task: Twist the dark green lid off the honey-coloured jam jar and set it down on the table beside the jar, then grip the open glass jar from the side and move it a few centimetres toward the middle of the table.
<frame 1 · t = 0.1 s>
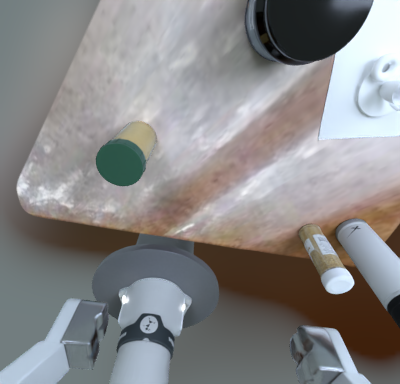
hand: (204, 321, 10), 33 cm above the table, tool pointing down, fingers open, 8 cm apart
supplement container: (282, 16, 32), on the table
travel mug: (349, 229, 50), on the table
jar lid: (120, 164, 31), point 11 cm above the table, screwed on, not yet turned
jam jar: (139, 138, 41), on the table
sprinkles bottle: (308, 230, 51), on the table
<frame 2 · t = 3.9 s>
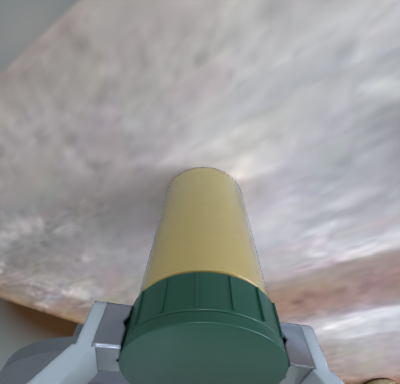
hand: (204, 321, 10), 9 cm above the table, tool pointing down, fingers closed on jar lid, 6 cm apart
jar lid: (203, 359, 9), point 11 cm above the table, screwed on, not yet turned, touching gripper
jam jar: (203, 201, 18), on the table
sprinkles bottle: (377, 383, 33), on the table
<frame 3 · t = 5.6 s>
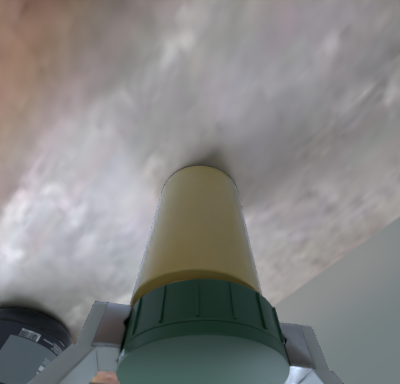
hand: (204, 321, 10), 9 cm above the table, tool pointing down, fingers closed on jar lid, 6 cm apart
supplement container: (29, 328, 28), on the table
jar lid: (202, 365, 9), point 11 cm above the table, off its thread, touching gripper
jam jar: (199, 200, 18), on the table
when the fingers open (0 cm above the table, at t = 11.8 s): jar lid stays where it is, point 1 cm above the table.
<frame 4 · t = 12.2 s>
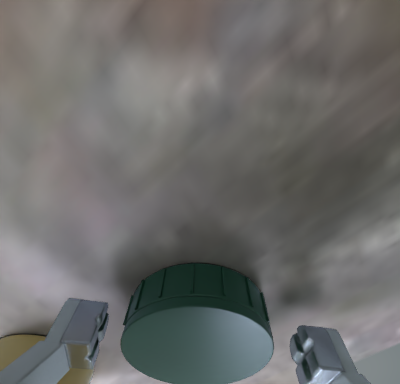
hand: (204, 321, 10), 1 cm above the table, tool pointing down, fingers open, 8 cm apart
jar lid: (197, 342, 10), point 1 cm above the table, off its thread
jam jar: (44, 361, 14), on the table
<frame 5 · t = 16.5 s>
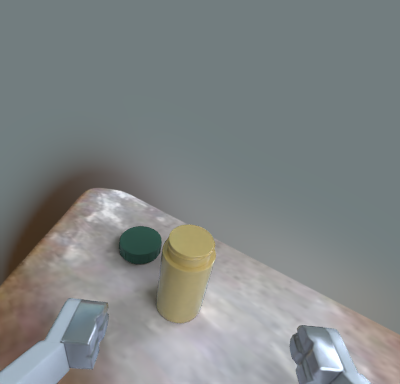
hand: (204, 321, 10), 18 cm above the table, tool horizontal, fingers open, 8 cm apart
jar lid: (140, 241, 36), point 1 cm above the table, off its thread
jam jar: (179, 300, 31), on the table
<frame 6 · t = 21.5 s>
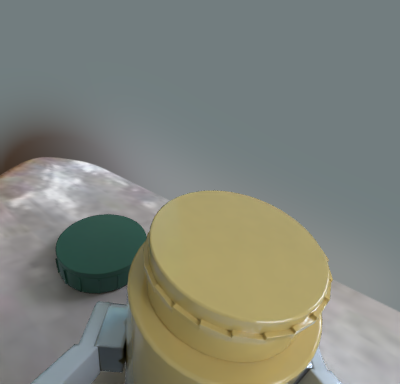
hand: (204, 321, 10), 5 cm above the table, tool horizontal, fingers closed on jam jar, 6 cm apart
jar lid: (104, 243, 18), point 1 cm above the table, off its thread
when the fingers open (5 cm above the table, at t = 28.3 s): jam jar stays where it is, on the table.
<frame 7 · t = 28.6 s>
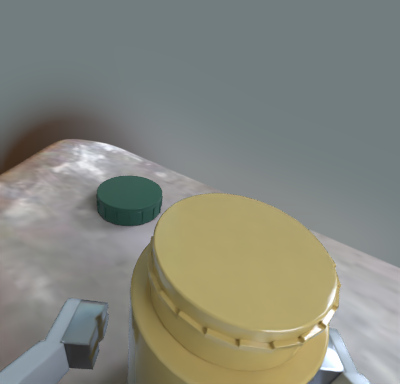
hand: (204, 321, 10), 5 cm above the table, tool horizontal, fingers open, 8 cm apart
jar lid: (130, 194, 23), point 1 cm above the table, off its thread
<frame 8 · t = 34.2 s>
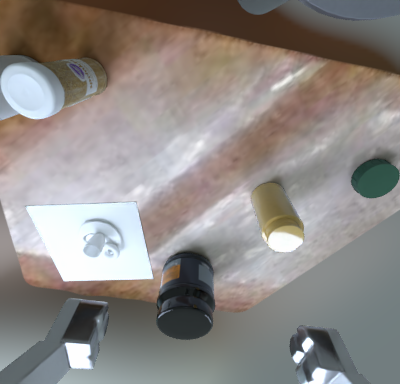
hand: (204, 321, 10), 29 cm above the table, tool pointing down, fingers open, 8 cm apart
supplement container: (188, 267, 51), on the table
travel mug: (31, 81, 33), on the table
jar lid: (376, 180, 38), point 1 cm above the table, off its thread
jam jar: (267, 197, 41), on the table
teacup and saucer: (96, 245, 48), on the table
sprinkles bottle: (91, 76, 32), on the table
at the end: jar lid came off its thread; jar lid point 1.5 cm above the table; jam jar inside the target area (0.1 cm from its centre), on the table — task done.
